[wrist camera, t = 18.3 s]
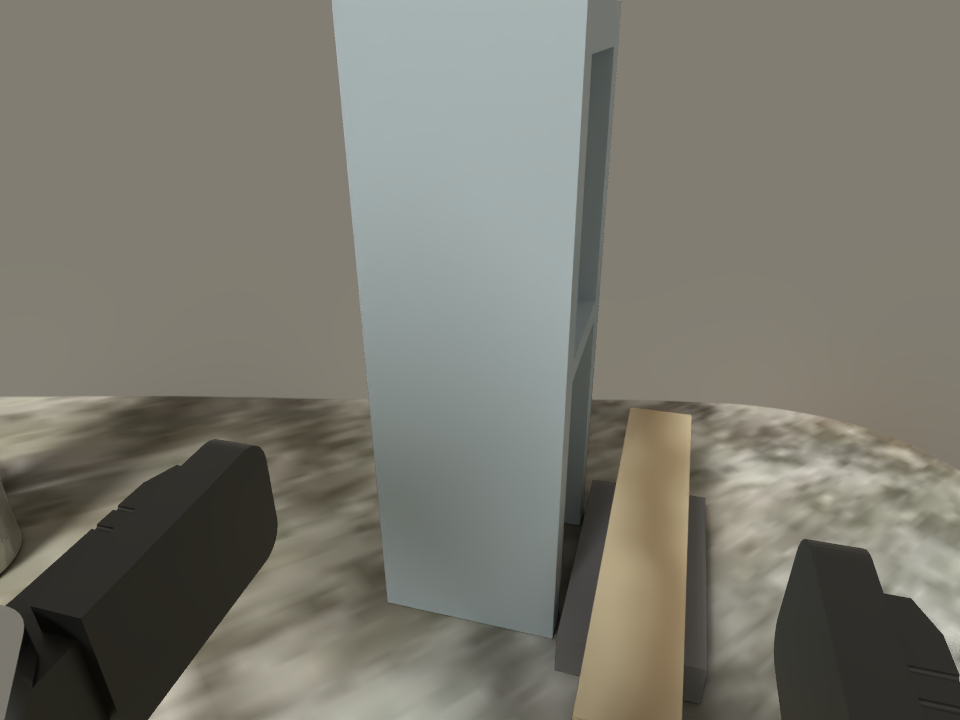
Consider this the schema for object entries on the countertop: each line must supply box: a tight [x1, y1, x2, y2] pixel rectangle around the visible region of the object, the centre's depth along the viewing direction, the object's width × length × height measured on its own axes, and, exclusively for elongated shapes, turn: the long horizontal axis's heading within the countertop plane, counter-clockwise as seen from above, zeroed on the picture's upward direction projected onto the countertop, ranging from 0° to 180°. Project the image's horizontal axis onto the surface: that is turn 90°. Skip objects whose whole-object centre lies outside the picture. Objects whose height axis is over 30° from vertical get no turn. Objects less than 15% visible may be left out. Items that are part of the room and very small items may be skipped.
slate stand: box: [332, 0, 621, 639], centre depth 38 cm, size 10×12×32 cm
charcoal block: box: [555, 480, 707, 704], centre depth 41 cm, size 8×14×2 cm, turn 164°
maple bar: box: [572, 407, 691, 720], centre depth 37 cm, size 4×24×5 cm, turn 164°
